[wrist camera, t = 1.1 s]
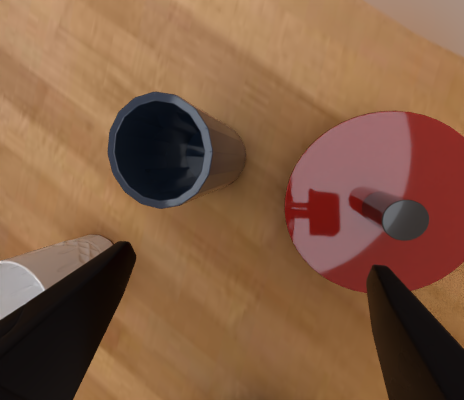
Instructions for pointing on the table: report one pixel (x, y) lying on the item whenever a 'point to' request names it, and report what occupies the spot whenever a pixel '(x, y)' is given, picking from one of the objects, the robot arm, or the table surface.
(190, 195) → the crock
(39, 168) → the table surface
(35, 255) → the white cup
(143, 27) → the table surface
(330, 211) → the lid
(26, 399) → the robot arm
